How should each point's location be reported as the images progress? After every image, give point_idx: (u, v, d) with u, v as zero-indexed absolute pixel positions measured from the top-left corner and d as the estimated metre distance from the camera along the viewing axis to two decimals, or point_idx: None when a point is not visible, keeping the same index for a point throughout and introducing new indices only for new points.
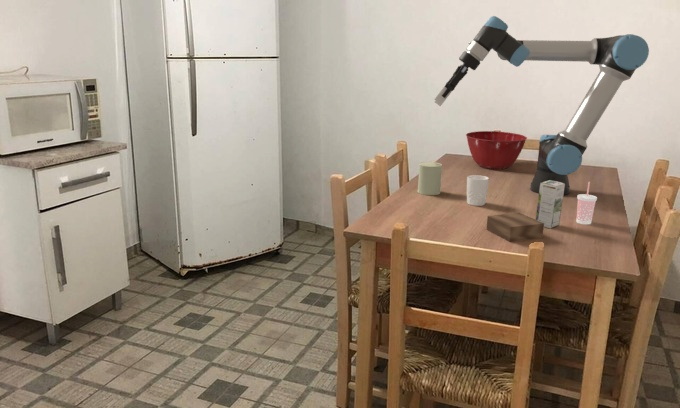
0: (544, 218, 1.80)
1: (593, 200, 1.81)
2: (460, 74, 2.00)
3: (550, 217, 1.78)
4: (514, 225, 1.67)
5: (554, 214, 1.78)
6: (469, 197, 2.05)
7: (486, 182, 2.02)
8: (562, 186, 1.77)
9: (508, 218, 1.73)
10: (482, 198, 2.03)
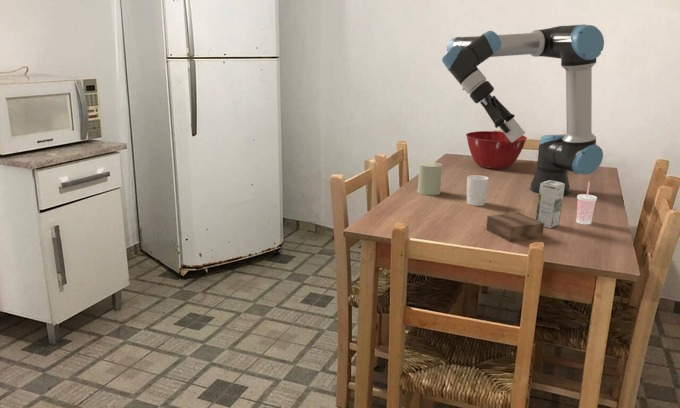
0: (544, 218, 1.80)
1: (593, 200, 1.81)
2: (488, 107, 1.75)
3: (550, 217, 1.78)
4: (515, 225, 1.66)
5: (554, 214, 1.78)
6: (469, 197, 2.05)
7: (486, 182, 2.02)
8: (562, 186, 1.77)
9: (508, 218, 1.73)
10: (482, 198, 2.03)
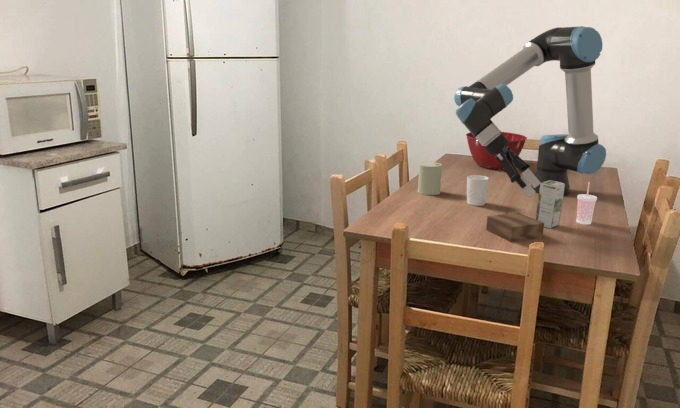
0: (544, 218, 1.80)
1: (593, 200, 1.81)
2: (504, 162, 1.75)
3: (550, 217, 1.78)
4: (515, 225, 1.66)
5: (554, 214, 1.78)
6: (469, 197, 2.05)
7: (486, 182, 2.02)
8: (562, 186, 1.77)
9: (508, 218, 1.73)
10: (482, 198, 2.03)
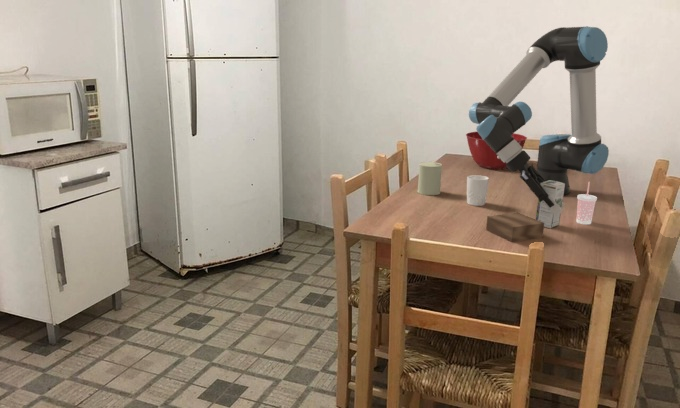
0: (544, 218, 1.80)
1: (593, 200, 1.81)
2: (530, 182, 1.75)
3: (550, 217, 1.78)
4: (516, 225, 1.66)
5: None
6: (469, 197, 2.05)
7: (486, 182, 2.02)
8: (562, 186, 1.77)
9: (508, 219, 1.73)
10: (482, 198, 2.03)
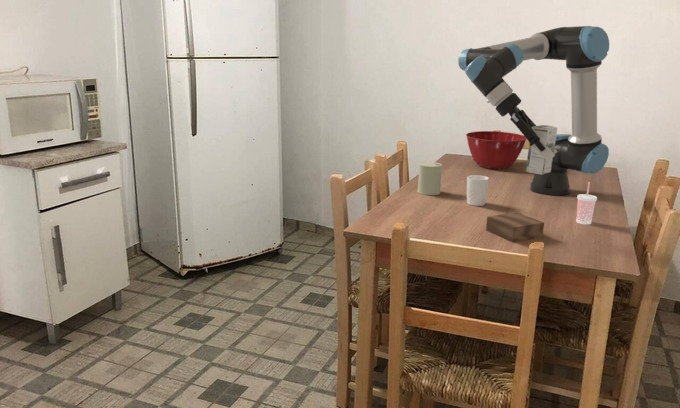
0: (535, 164, 1.71)
1: (593, 200, 1.81)
2: (520, 124, 1.66)
3: (542, 162, 1.69)
4: (517, 225, 1.66)
5: None
6: (469, 197, 2.05)
7: (486, 182, 2.02)
8: (554, 130, 1.69)
9: (508, 219, 1.73)
10: (482, 198, 2.03)
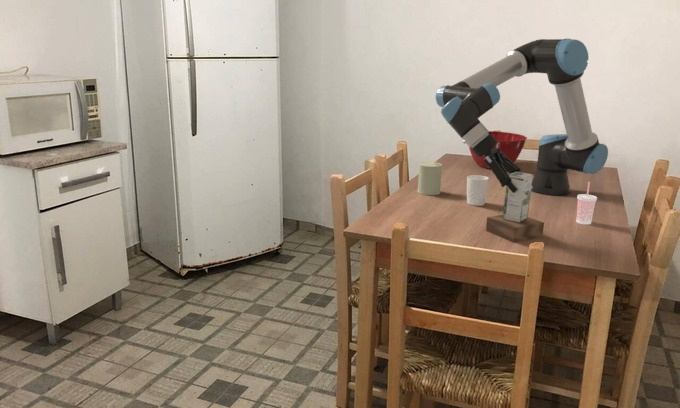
0: (512, 212, 1.70)
1: (593, 200, 1.81)
2: (493, 165, 1.64)
3: (519, 211, 1.69)
4: (517, 226, 1.66)
5: (522, 207, 1.69)
6: (469, 197, 2.05)
7: (486, 182, 2.02)
8: (530, 177, 1.68)
9: None
10: (482, 198, 2.03)
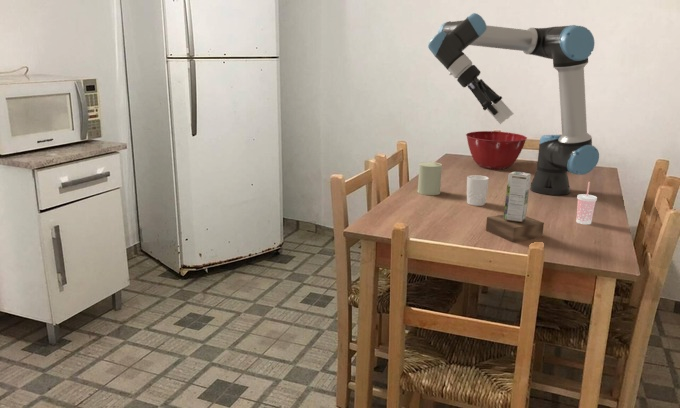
0: (514, 211, 1.69)
1: (593, 200, 1.81)
2: (475, 90, 1.79)
3: (521, 210, 1.68)
4: (517, 226, 1.66)
5: (524, 206, 1.68)
6: (469, 197, 2.05)
7: (486, 182, 2.02)
8: (529, 176, 1.69)
9: None
10: (482, 198, 2.03)
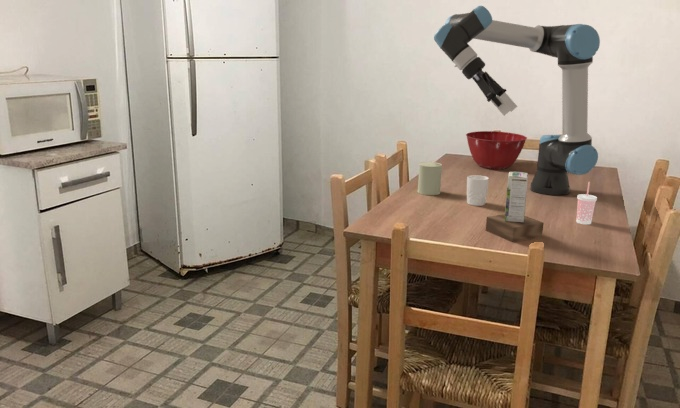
0: (515, 213, 1.69)
1: (593, 200, 1.81)
2: (480, 82, 1.80)
3: (523, 211, 1.68)
4: (516, 226, 1.66)
5: None
6: (469, 197, 2.05)
7: (486, 182, 2.02)
8: (527, 176, 1.68)
9: None
10: (482, 198, 2.03)
